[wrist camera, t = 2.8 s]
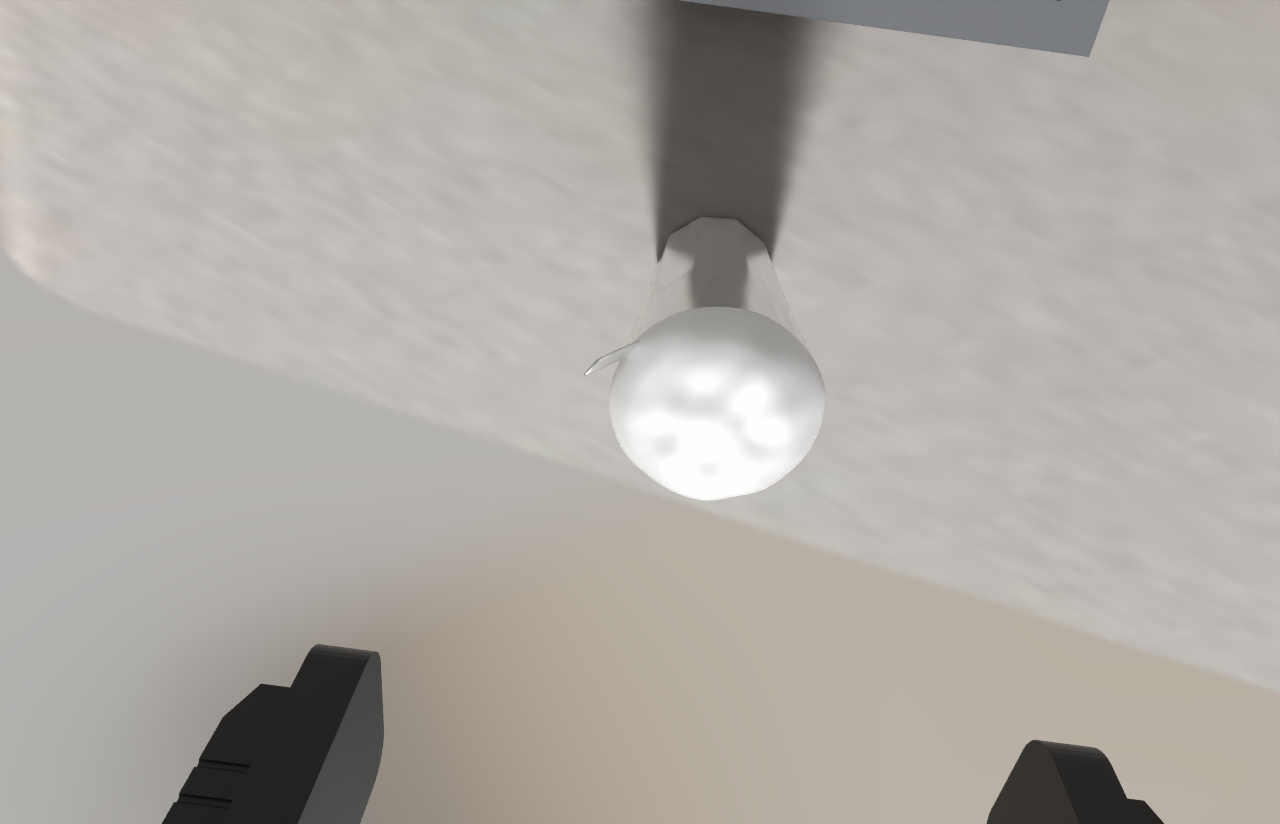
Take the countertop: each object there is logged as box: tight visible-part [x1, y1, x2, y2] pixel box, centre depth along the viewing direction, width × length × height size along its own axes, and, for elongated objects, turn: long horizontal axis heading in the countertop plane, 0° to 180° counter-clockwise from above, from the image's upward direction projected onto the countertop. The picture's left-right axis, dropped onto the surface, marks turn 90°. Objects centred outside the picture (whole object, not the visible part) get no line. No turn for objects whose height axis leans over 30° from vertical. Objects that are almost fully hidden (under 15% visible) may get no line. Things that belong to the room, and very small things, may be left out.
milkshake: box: [584, 217, 825, 500], centre depth 21 cm, size 4×5×10 cm
